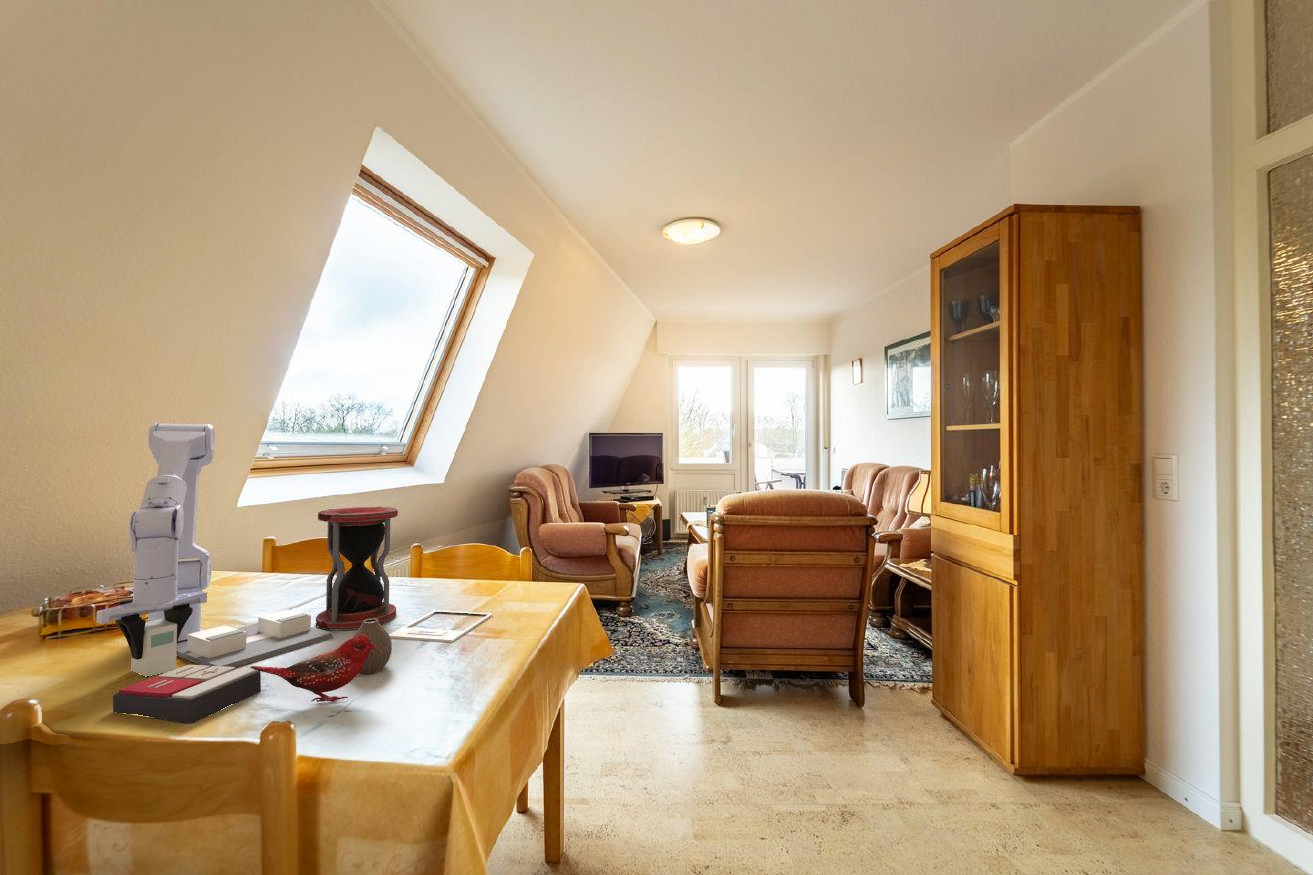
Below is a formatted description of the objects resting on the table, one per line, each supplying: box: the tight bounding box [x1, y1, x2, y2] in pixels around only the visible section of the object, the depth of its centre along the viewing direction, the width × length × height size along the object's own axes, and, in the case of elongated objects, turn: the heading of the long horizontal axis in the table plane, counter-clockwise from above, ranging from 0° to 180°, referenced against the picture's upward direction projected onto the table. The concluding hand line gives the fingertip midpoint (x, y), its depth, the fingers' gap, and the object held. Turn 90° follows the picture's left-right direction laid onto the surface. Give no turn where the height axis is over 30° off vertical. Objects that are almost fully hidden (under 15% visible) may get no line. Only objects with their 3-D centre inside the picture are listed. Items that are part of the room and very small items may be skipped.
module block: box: [130, 619, 178, 677], centre depth 96 cm, size 6×4×8 cm, turn 62°
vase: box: [352, 619, 392, 676], centre depth 96 cm, size 7×7×9 cm
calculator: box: [112, 664, 262, 725], centre depth 84 cm, size 11×4×15 cm
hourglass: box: [315, 506, 399, 631], centre depth 125 cm, size 16×16×25 cm
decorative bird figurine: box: [249, 635, 377, 703], centre depth 84 cm, size 3×18×10 cm, turn 102°
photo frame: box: [388, 609, 493, 643], centre depth 121 cm, size 15×1×18 cm
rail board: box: [176, 609, 334, 668], centre depth 109 cm, size 20×20×4 cm
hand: (154, 653), depth 96 cm, fingers closed on module block, 4 cm apart
